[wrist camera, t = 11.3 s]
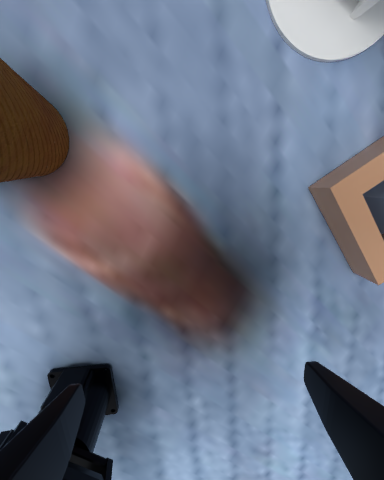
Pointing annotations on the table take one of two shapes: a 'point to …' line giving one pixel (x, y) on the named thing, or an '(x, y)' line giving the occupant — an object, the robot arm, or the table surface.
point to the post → (376, 204)
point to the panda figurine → (328, 26)
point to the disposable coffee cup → (28, 130)
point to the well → (355, 210)
